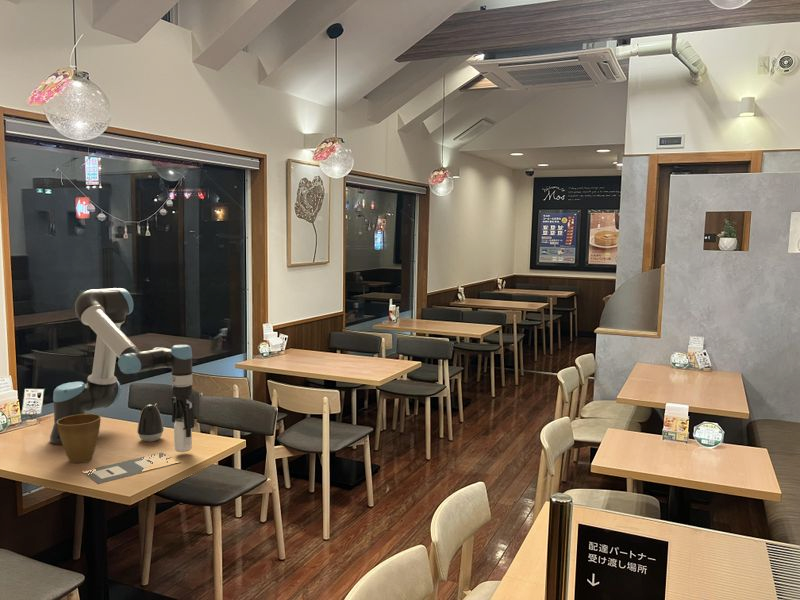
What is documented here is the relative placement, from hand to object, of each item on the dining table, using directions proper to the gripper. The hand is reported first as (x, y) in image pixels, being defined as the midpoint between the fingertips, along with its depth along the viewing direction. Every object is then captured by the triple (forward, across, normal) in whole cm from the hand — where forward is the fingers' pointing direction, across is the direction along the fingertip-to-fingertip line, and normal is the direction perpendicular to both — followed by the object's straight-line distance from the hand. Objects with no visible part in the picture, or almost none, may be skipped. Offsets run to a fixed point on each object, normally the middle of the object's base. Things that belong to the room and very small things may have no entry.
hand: (183, 442), depth 244 cm
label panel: (+5, 0, -20) cm, 21 cm away
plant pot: (+5, -21, -31) cm, 38 cm away
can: (+3, 0, 0) cm, 3 cm away
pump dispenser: (+5, -27, -1) cm, 27 cm away
